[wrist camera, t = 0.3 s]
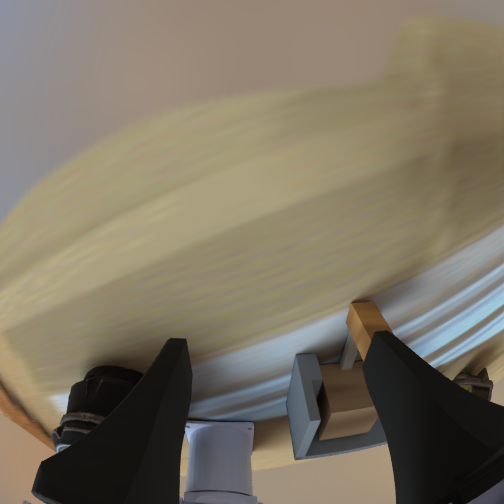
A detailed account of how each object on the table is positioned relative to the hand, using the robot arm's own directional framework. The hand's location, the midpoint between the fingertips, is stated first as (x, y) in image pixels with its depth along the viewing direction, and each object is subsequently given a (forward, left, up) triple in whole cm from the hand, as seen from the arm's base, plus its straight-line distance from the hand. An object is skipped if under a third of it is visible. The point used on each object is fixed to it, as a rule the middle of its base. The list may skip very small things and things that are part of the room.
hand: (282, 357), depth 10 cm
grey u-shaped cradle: (-14, -8, -10) cm, 19 cm away
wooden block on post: (-11, -8, -10) cm, 17 cm away
